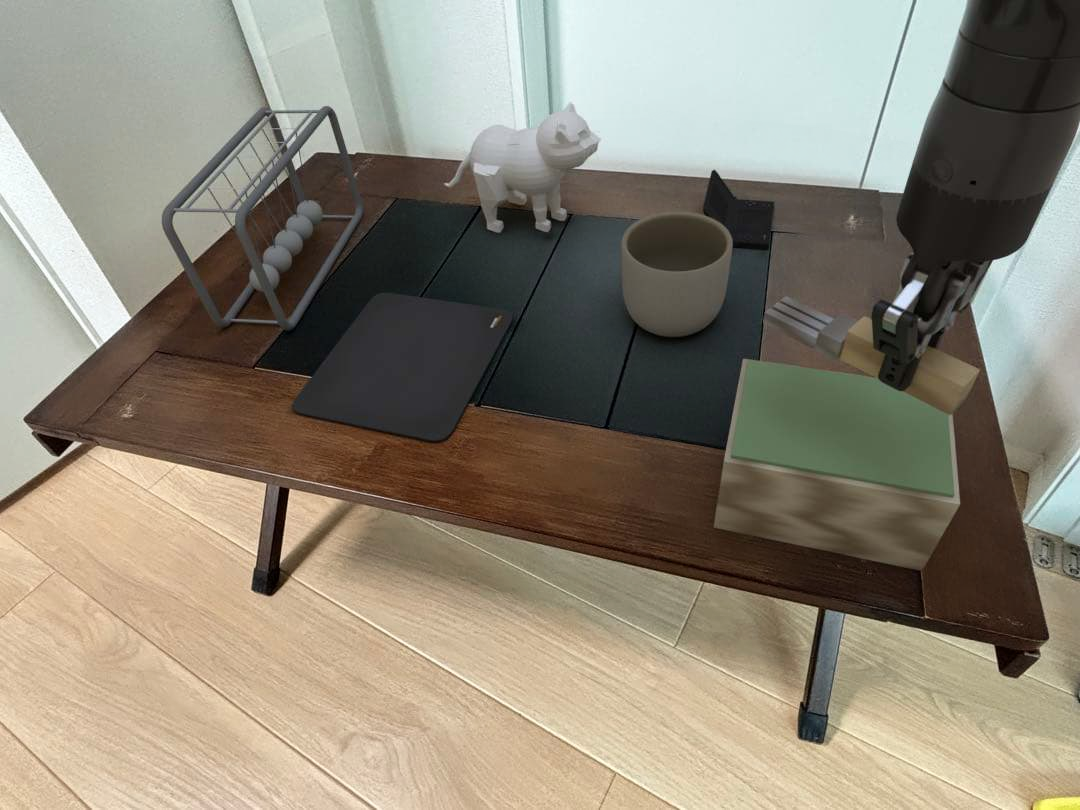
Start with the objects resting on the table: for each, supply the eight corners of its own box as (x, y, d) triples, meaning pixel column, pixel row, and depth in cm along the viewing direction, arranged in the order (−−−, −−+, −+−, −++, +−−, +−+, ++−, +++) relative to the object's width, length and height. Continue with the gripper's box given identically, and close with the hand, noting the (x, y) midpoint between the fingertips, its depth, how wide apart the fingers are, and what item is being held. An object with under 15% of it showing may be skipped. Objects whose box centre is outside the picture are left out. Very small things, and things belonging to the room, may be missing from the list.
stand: (917, 459, 71) (950, 388, 64) (922, 571, 63) (960, 504, 55) (732, 427, 76) (743, 358, 69) (713, 527, 67) (723, 461, 60)
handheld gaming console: (786, 238, 95) (745, 181, 91) (739, 268, 99) (697, 214, 95) (776, 203, 104) (738, 149, 100) (733, 232, 108) (694, 181, 104)
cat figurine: (434, 229, 108) (410, 120, 95) (462, 192, 114) (442, 87, 102) (595, 248, 100) (590, 134, 88) (614, 208, 107) (612, 97, 95)
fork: (969, 395, 53) (983, 366, 51) (947, 419, 52) (961, 389, 50) (784, 306, 62) (789, 277, 60) (761, 323, 61) (766, 295, 59)
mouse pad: (446, 445, 77) (445, 443, 77) (286, 412, 83) (286, 410, 83) (517, 312, 92) (516, 311, 92) (377, 292, 97) (376, 290, 97)
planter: (720, 353, 84) (730, 277, 76) (614, 344, 86) (613, 269, 78) (725, 288, 92) (735, 213, 84) (629, 281, 94) (629, 208, 87)
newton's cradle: (290, 338, 93) (236, 218, 80) (217, 334, 94) (153, 216, 82) (366, 212, 113) (333, 99, 100) (305, 211, 115) (264, 100, 102)
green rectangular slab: (944, 391, 63) (946, 387, 63) (953, 498, 56) (954, 494, 56) (747, 362, 68) (748, 359, 68) (730, 457, 60) (731, 454, 60)
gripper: (993, 236, 37) (901, 450, 50) (1103, 136, 43) (996, 350, 55) (860, 188, 41) (806, 397, 54) (977, 103, 47) (904, 310, 60)
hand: (903, 373), depth 55 cm, fingers closed on fork, 2 cm apart
